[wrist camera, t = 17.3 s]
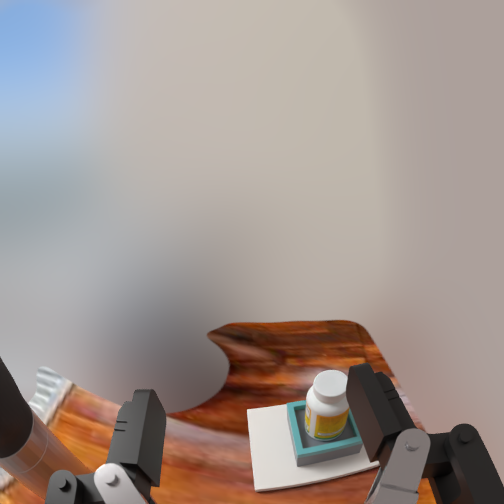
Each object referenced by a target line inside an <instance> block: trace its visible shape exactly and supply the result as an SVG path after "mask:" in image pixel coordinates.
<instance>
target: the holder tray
mask: <svg viewBox="0 0 504 504" xmlns="http://www.w3.org/2000/svg"><path fill="white" fill-rule="evenodd" d="M305 412H306V400H304V401H298V402H292V403H287V404H285V405H279V406H272V407H264V408H256V409H248V410H247V415H248V425H249V436H250V446H251V456H252V466H253V476H254V485H255V491H256V492H260V491H269V490H277V489H284V488H290V487H297V486H302V485H308V484H313V483H318V482H322V481H327V480H331V479H335V478H339V477H343V476H347V475H351V474H355V473H358V472H362V471H365V470H368V469H371V468H375V467H378V466H380V464H379V461H375V462H372V463H370V461H369V458H368V455H367V453H366V450H365V447H364V444H363V442H362V439H361V436H360V434H359V431H358V428H357V426H356V423H355V420H354V418H353V415H352V412H351V410H350V409H349V413H348V417H347V421H346V424H345V428H344V430H343V432H342V433H341V434H340V435H339V436H338V437H337V438H335V439H333V440H329V441H320V440H316V439H314V438H312V437H311V436H309V435H308V433H307V432H306V429H305Z"/></svg>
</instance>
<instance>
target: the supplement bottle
mask: <svg viewBox="0 0 504 504" xmlns="http://www.w3.org/2000/svg"><path fill="white" fill-rule="evenodd" d="M347 379H348V377H347V376H346V375H345V374H344V373H342V372H340V371H337V370H327V371H324V372H321V373H320V374H318V375H317V376H316V378H315V379H314V384H313V386H312V387H311V388H310V390H309V391H308V393H307V398H306V412H305V429H306V432H307V433H308V435H309V436H311V437H312V438H314V439H316V440H320V441H329V440H333V439H335V438H337V437H338V436H339V435H340V434H341V433H342V432H343V430H344V428H345V424H346V421H347V417H348V413H349V409H350V407H349V405H348V402H347V398H346V385H347Z"/></svg>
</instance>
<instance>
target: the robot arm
mask: <svg viewBox="0 0 504 504" xmlns="http://www.w3.org/2000/svg"><path fill="white" fill-rule="evenodd" d="M346 398H347V402H348V405H349V407H350V410H351V412H352V415H353V418H354V420H355V423H356V426H357V428H358V431H359V434H360V436H361V439H362V442H363V444H364V447H365V450H366V453H367V455H368V458H369V461H370V463H372V462H375V461H379V464H380V469H379V471H378V473H377V476H376V478H375V480H374V483H373V485H372V487H371V489H370V492H369V494H368V496H367V498H366V500H365V502H364V504H416V503H417V500H418V495H419V493H418V492H417V489H418V486H419V483H420V480H421V479H422V478H428V480H429V483H430V486H431V488H432V491H433V494H434V497H435V500H436V503H437V504H504V487H503V484H502V482H501V480H500V477H499V475H498V473H497V470H496V468H495V466H494V464H493V462H492V460H491V458H490V455H489V453H488V451H487V449H486V447H485V445H484V443H483V441H482V439H481V437H480V436H479V433H478V431H477V430H476V429H475V428H474V427H473V426H471V425H469V424H459V425H457V426H455V427H454V428H453V429H452V430H451V432H448V433H440V434H427V433H425V432H424V431H422V430H420V429H418V428H417V427H416V426H415V425H414V423H413V421H412V419H411V417H410V415H409V413H408V411H407V410H406V408H405V406H404V404H403V402H402V400H401V398H399V394H398V392H397V391H396V390H395V387H394V385H393V383H392V381H391V379H390V378H388V377H387V376H386V375H385V374H384V373H382V372H378V373H374V372H373V370H372V368H371V366H370V364H369V363H363V364H359V365H354V366H351V367H350V368H349V374H348V379H347V385H346ZM116 422H117V423H116V424H115V428H114V430H115V431H114V432H113V436H112V440H111V444H110V449H109V453H108V458H107V461H106V463H105V465H102V466H101V467H99V468H98V469H97V471H96V472H94V473H93V472H92V471H90V470H89V469H88V468H87V467H86V466H85V465H84V464H83V463H82V462H81V461H80V460H79V459H78V458H77V457H75V456H74V455H73V454H72V453H71V452H70V451H69V450H68V449H67V448H66V447H65V446H64V445H63V444H62V443H61V442H60V440H59V439H58V438H57V437H56V436H55V435H54V434H53V433H52V432H51V431H50V430H49V429H48V427H47V426H46V425H45V424H44V423H43V422H42V421H41V420H40V418H39V417H38V416H37V415H36V414H35V412H34V411H33V410H32V409H31V408H30V406H29V405H28V404H27V402H26V401H25V400H24V398H23V397H22V395H21V393H20V391H19V389H18V387H17V385H16V383H15V381H14V379H13V377H12V376H11V374H10V372H9V371H8V369H7V367H6V366H5V364H4V363H3V361H2V359H1V358H0V467H2V468H3V469H4V470H5V471H7V472H8V473H9V474H10V475H11V476H13V477H14V478H15V479H17V480H18V481H19V482H20V483H22V484H23V485H24V486H26V487H27V488H28V489H30V490H31V491H33V492H34V493H35V494H37V495H38V496H40V497H41V498H43V499H44V500H45V504H157V503H156V501H155V500H154V499H153V497H152V496H151V495H150V490H151V486H153V487H159V485H160V474H161V464H162V455H163V446H164V437H165V429H166V414H165V410H164V408H163V406H162V404H161V402H160V400H159V398H158V396H157V394H156V392H155V391H154V390H153V389H150V390H149V389H139V390H138V389H137V390H135V392H134V395H133V399H132V402H127V401H126V402H125V403H124V404H123V406H122V407H121V408H120V410H119V412H118V416H117V420H116Z"/></svg>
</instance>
